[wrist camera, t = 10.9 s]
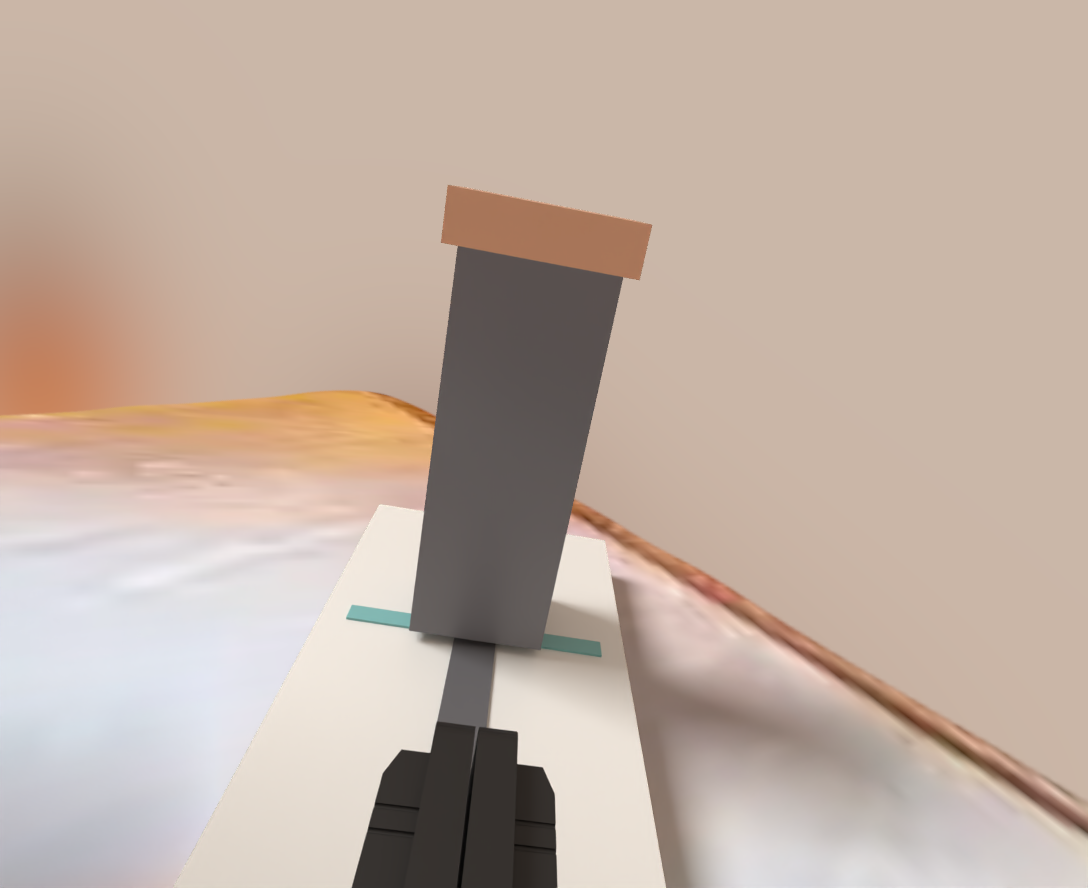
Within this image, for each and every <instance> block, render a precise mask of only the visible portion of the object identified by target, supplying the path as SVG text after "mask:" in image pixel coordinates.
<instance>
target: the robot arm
mask: <svg viewBox="0 0 1088 888" xmlns="http://www.w3.org/2000/svg"><path fill="white" fill-rule="evenodd" d="M474 737H475V726H470V725H462V724H454V723H447V722H439V721H437V722H436V727H435V732H434V737H433V742H432V747H431V752H430V753H426V752H418V751H411V750H403V749H401V751H400V752H399V753H398V754H397V756H396V757H395V758H394V759H393V761H392V762H391V763H390V764H389V766H388V767H387V768H386V770H385V771H384V772H383V774H382V778H381V781H380V785H379V789H378V792H377V796H376V800H375V804H374V808H373V811H372V814H371V818H370V822H369V825H368V830H367V833H366V836H365V840H364V844H363V848H362V851H361V855H360V859H359V862H358V866H357V870H356V873H355V877H354V881H353V884H352V888H558V887H557V855H556V830H555V825H556V814H555V793H554V791H553V789H552V787H551V784H550V782H549V780H548V778H547V775H546V773H545V771H544V769H543V767H537V766H529V765H522V764H517V754H518V732H517V731H509V730H501V729H494V728H486V727H479V728H478V732H477V738H476V743H475V748H474V754H473V746H474ZM472 754H473V759H472ZM471 762H472V765H471Z"/></svg>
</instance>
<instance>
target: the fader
mask: <svg viewBox="0 0 1088 888" xmlns="http://www.w3.org/2000/svg"><path fill="white" fill-rule="evenodd" d="M651 228H652V225H651V224H647V223H643V222H639V221H635V220H630V219H624V218H620V217H615V216H609V215H604V214H599V213H594V212H589V211H584V210H579V209H573V208H568V207H563V206H558V205H553V204H548V203H543V202H538V201H532V200H528V199H522V198H517V197H512V196H507V195H502V194H497V193H492V192H487V191H481V190H476V189H471V188H466V187H459V186H452V185H448V187H447V196H446V205H445V214H444V221H443V230H442V239H441V243H445V244H451V245H456V246H458V249H457V257H456V264H455V272H454V280H453V288H452V296H451V304H450V312H449V320H448V327H447V335H446V344H445V351H444V359H443V367H442V375H441V383H440V390H439V398H438V406H437V414H436V422H435V430H434V438H433V445H432V453H431V461H430V469H429V477H428V485H427V493H426V500H425V508H424V516H423V524H422V532H421V540H420V548H419V556H418V563H417V571H416V579H415V587H414V595H413V603H412V611H411V618H410V626H409V631H414V632H421V633H428V634H435V635H441V636H448V637H455V638H462V639H468V640H475V641H482V642H488V643H495V644H502V645H509V646H515V647H522V648H529V649H535V650H541V645H542V641H543V636H544V632H545V627H546V623H547V618H548V614H549V609H550V605H551V600H552V596H553V591H554V587H555V582H556V578H557V573H558V569H559V564H560V560H561V555H562V551H563V546H564V542H565V537H566V533H567V528H568V524H569V519H570V515H571V510H572V506H573V501H574V497H575V492H576V488H577V483H578V479H579V474H580V470H581V465H582V461H583V456H584V452H585V447H586V443H587V437H588V434H589V429H590V424H591V420H592V416H593V411H594V406H595V402H596V398H597V393H598V388H599V384H600V380H601V375H602V370H603V366H604V362H605V357H606V352H607V348H608V344H609V339H610V334H611V330H612V326H613V321H614V316H615V312H616V307H617V303H618V298H619V294H620V289H621V285H622V280H623V277H625V278H630V279H636V280H639V279H640V276H641V271H642V267H643V263H644V258H645V254H646V249H647V246H648V241H649V236H650V232H651Z"/></svg>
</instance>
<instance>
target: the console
mask: <svg viewBox="0 0 1088 888" xmlns="http://www.w3.org/2000/svg"><path fill="white" fill-rule="evenodd" d="M423 516H424V511H419V510H413V509H407V508H401V507H394V506H388V505H382V504H379V506H378V508H377V510H376V512H375V514H374V515H373V517H372V519H371V521H370V523H369V525H368V527H367V528H366V530H365V532H364V534H363V536H362V538H361V540H360V541H359V543H358V545H357V547H356V549H355V551H354V553H353V554H352V556H351V558H350V560H349V562H348V564H347V566H346V567H345V569H344V571H343V573H342V575H341V577H340V579H339V580H338V582H337V584H336V586H335V588H334V590H333V592H332V593H331V595H330V597H329V599H328V601H327V603H326V605H325V606H324V608H323V610H322V612H321V614H320V616H319V618H318V619H317V621H316V623H315V625H314V627H313V629H312V631H311V632H310V634H309V636H308V638H307V640H306V642H305V643H304V645H303V647H302V649H301V651H300V653H299V655H298V656H297V658H296V660H295V662H294V664H293V666H292V668H291V669H290V671H289V673H288V675H287V677H286V679H285V681H284V682H283V684H282V686H281V688H280V690H279V692H278V694H277V695H276V697H275V699H274V701H273V703H272V705H271V707H270V708H269V710H268V712H267V714H266V716H265V718H264V720H263V721H262V723H261V725H260V727H259V729H258V731H257V733H256V734H255V736H254V738H253V740H252V742H251V744H250V746H249V747H248V749H247V751H246V753H245V755H244V757H243V759H242V760H241V762H240V764H239V766H238V768H237V770H236V772H235V773H234V775H233V777H232V779H231V781H230V783H229V785H228V786H227V788H226V790H225V792H224V794H223V796H222V798H221V799H220V801H219V803H218V805H217V807H216V809H215V811H214V812H213V814H212V816H211V818H210V820H209V822H208V824H207V825H206V827H205V829H204V831H203V833H202V835H201V837H200V838H199V840H198V842H197V844H196V846H195V848H194V850H193V851H192V853H191V855H190V857H189V859H188V861H187V863H186V864H185V866H184V868H183V870H182V872H181V874H180V876H179V877H178V879H177V881H176V883H175V885H174V887H173V888H352V884H353V881H354V877H355V873H356V870H357V866H358V862H359V859H360V855H361V851H362V848H363V844H364V840H365V836H366V833H367V830H368V825H369V822H370V818H371V814H372V811H373V808H374V804H375V800H376V796H377V792H378V789H379V785H380V781H381V778H382V774H383V772H384V771H385V770H386V768H387V767H388V766H389V764H390V763H391V762H392V761H393V759H394V758H395V757H396V756H397V754H398V753H399V752H400V751H401V749H403V750H411V751H418V752H426V753H430V752H431V747H432V742H433V737H434V732H435V727H436V722H437V721H439V722H447V723H454V724H462V725H470V726H475V737H474V746H473V754H474V748H475V743H476V738H477V732H478V728H479V727H486V728H494V729H501V730H509V731H517V732H518V754H517V764H522V765H529V766H537V767H543V769H544V771H545V773H546V775H547V778H548V780H549V782H550V784H551V787H552V789H553V791H554V793H555V814H556V825H555V830H556V855H557V887H558V888H666V885H665V879H664V873H663V868H662V862H661V856H660V851H659V845H658V839H657V834H656V828H655V822H654V817H653V811H652V805H651V800H650V794H649V788H648V783H647V777H646V771H645V766H644V760H643V754H642V749H641V743H640V737H639V732H638V726H637V720H636V714H635V709H634V703H633V697H632V692H631V686H630V680H629V675H628V669H627V663H626V658H625V652H624V646H623V641H622V635H621V629H620V624H619V618H618V612H617V607H616V601H615V595H614V590H613V584H612V578H611V573H610V567H609V561H608V556H607V550H606V544H605V540H599V539H593V538H587V537H580V536H574V535H568V534H566V537H565V542H564V546H563V551H562V555H561V560H560V564H559V569H558V573H557V578H556V582H555V587H554V591H553V596H552V600H551V605H550V609H549V614H548V618H547V623H546V627H545V632H544V636H543V641H542V645H541V650H535V649H529V648H522V647H515V646H509V645H502V644H495V643H488V642H482V641H475V640H468V639H462V638H455V637H448V636H441V635H435V634H428V633H421V632H414V631H409V626H410V618H411V611H412V603H413V595H414V587H415V579H416V571H417V563H418V556H419V548H420V540H421V532H422V524H423ZM473 754H472V759H473ZM471 765H472V762H471Z"/></svg>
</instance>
